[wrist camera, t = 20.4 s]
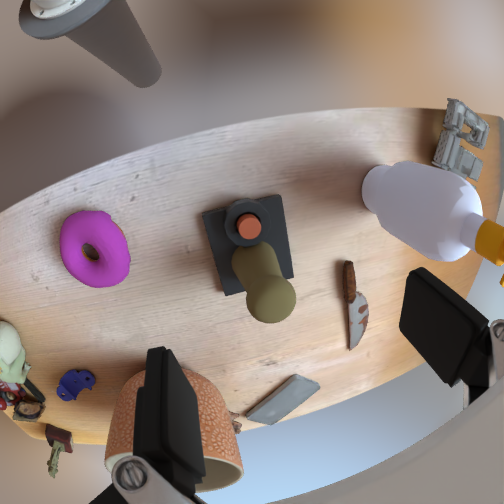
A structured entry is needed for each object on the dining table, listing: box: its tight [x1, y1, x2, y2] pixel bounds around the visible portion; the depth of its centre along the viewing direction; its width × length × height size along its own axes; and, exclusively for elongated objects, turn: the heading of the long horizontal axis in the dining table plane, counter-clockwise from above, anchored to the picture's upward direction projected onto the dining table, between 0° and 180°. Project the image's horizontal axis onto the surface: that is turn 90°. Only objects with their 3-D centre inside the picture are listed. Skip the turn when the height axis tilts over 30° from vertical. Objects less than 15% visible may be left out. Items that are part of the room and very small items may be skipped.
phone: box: [246, 374, 320, 425], centre depth 52 cm, size 8×16×1 cm, turn 140°
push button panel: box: [202, 194, 294, 296], centre depth 36 cm, size 13×10×3 cm
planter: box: [105, 368, 244, 493], centre depth 37 cm, size 21×21×19 cm
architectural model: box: [432, 98, 490, 189], centre depth 37 cm, size 12×25×5 cm, turn 170°
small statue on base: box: [45, 424, 73, 478], centre depth 43 cm, size 10×8×15 cm
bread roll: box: [13, 399, 46, 422], centre depth 40 cm, size 11×8×4 cm
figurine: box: [0, 321, 31, 384], centre depth 31 cm, size 10×16×10 cm, turn 149°
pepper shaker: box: [231, 241, 296, 323], centre depth 32 cm, size 6×6×11 cm
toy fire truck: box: [0, 379, 26, 410], centre depth 37 cm, size 7×12×10 cm
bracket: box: [56, 370, 95, 401], centre depth 40 cm, size 9×5×3 cm, turn 110°
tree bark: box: [228, 411, 242, 434], centre depth 52 cm, size 6×12×2 cm, turn 37°
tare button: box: [237, 214, 261, 239], centre depth 32 cm, size 3×3×2 cm
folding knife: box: [23, 378, 45, 402], centre depth 40 cm, size 10×1×3 cm
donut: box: [60, 211, 131, 288], centre depth 31 cm, size 10×10×5 cm
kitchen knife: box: [343, 260, 369, 351], centre depth 45 cm, size 21×2×5 cm
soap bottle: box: [362, 161, 504, 287], centre depth 26 cm, size 10×10×24 cm
